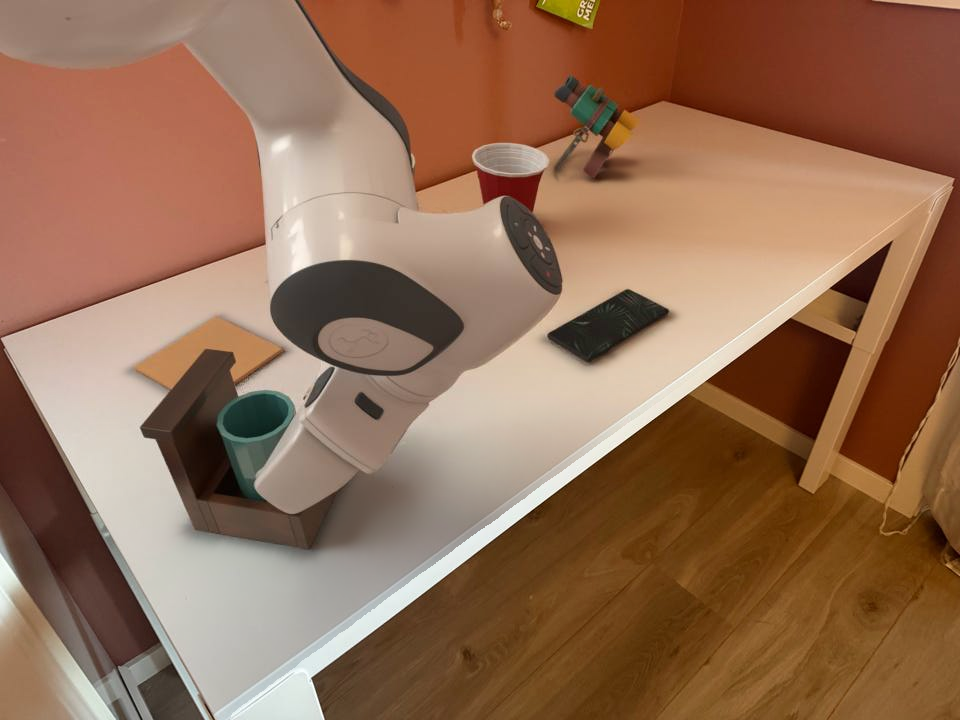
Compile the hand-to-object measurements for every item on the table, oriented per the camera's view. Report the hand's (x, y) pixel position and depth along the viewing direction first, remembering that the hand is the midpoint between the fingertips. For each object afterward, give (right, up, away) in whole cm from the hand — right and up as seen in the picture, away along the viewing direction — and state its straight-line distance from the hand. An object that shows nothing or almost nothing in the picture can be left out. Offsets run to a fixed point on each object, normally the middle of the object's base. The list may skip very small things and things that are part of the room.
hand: (290, 436), depth 62 cm
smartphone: (+32, +10, +26) cm, 43 cm away
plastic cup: (+21, +26, +45) cm, 56 cm away
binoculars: (+36, +39, +62) cm, 81 cm away
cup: (-2, -7, +6) cm, 9 cm away
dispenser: (-3, -7, +6) cm, 10 cm away
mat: (-16, +7, +23) cm, 28 cm away
